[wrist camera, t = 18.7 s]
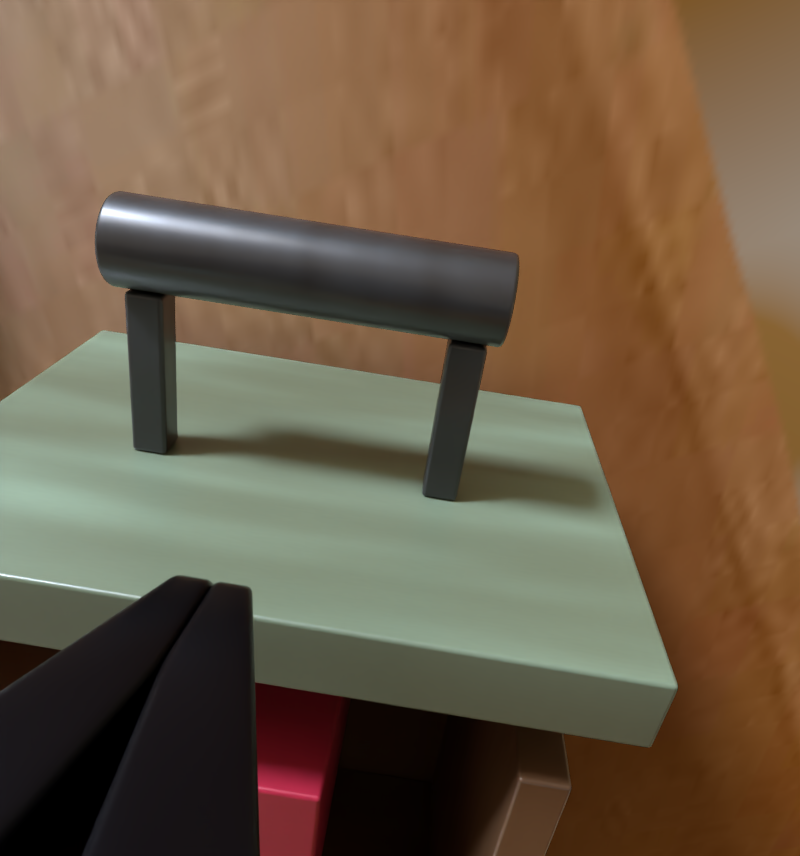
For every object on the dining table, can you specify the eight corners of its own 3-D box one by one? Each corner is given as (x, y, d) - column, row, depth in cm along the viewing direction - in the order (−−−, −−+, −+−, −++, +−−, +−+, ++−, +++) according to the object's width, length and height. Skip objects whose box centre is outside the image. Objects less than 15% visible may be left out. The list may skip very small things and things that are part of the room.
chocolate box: (357, 663, 19) (303, 952, 13) (264, 648, 19) (165, 929, 13) (375, 531, 17) (320, 800, 10) (270, 515, 17) (155, 773, 11)
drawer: (88, 137, 14) (-324, 203, 7) (634, 222, 14) (822, 384, 7) (131, 717, 22) (-34, 1031, 15) (474, 774, 22) (479, 1121, 15)
